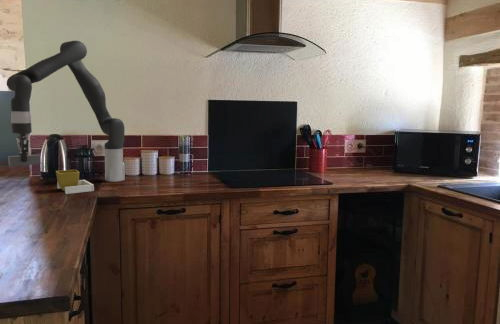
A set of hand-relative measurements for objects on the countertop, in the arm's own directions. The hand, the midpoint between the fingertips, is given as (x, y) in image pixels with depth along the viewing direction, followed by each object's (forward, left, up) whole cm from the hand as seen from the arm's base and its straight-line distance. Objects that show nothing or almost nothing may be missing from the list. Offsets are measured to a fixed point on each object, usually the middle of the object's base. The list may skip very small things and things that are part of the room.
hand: (23, 161), depth 179 cm
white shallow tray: (-21, 0, -15) cm, 26 cm away
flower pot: (-18, -1, -15) cm, 24 cm away
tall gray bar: (0, 0, -2) cm, 2 cm away
